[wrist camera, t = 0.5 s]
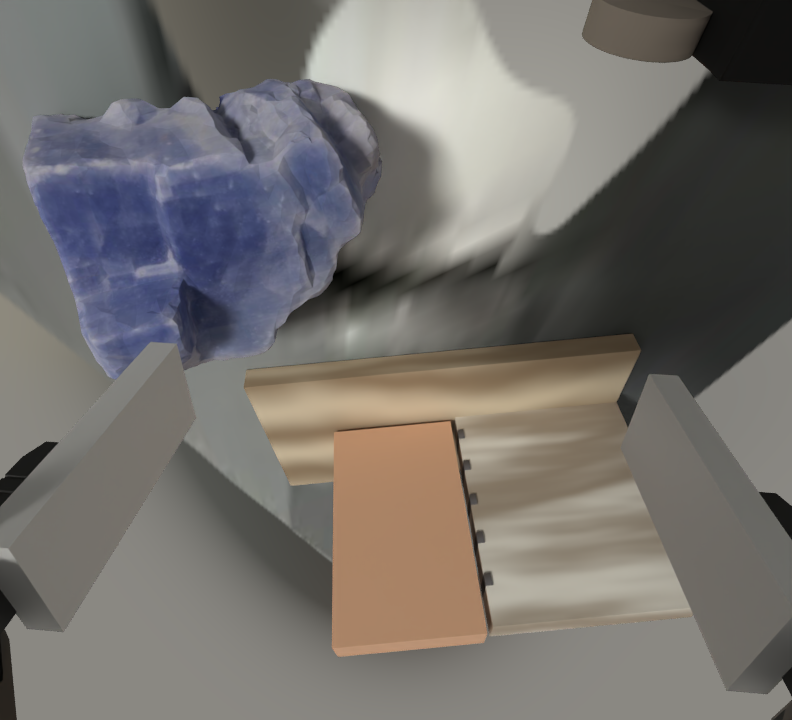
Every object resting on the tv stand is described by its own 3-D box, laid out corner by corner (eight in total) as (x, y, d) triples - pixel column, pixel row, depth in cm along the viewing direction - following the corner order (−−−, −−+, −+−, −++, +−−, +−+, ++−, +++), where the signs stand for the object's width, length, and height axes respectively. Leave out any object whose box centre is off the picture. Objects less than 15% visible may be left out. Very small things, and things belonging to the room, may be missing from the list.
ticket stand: (246, 369, 33) (205, 625, 23) (632, 333, 33) (760, 572, 23) (292, 469, 44) (277, 675, 34) (584, 442, 44) (657, 638, 34)
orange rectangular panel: (333, 432, 36) (332, 648, 27) (450, 421, 36) (487, 633, 27) (338, 448, 38) (338, 656, 29) (449, 438, 38) (484, 642, 29)
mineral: (108, 435, 22) (-121, 266, 14) (135, 286, 28) (-15, 105, 20) (430, 349, 22) (389, 127, 14) (388, 218, 28) (342, 7, 19)
